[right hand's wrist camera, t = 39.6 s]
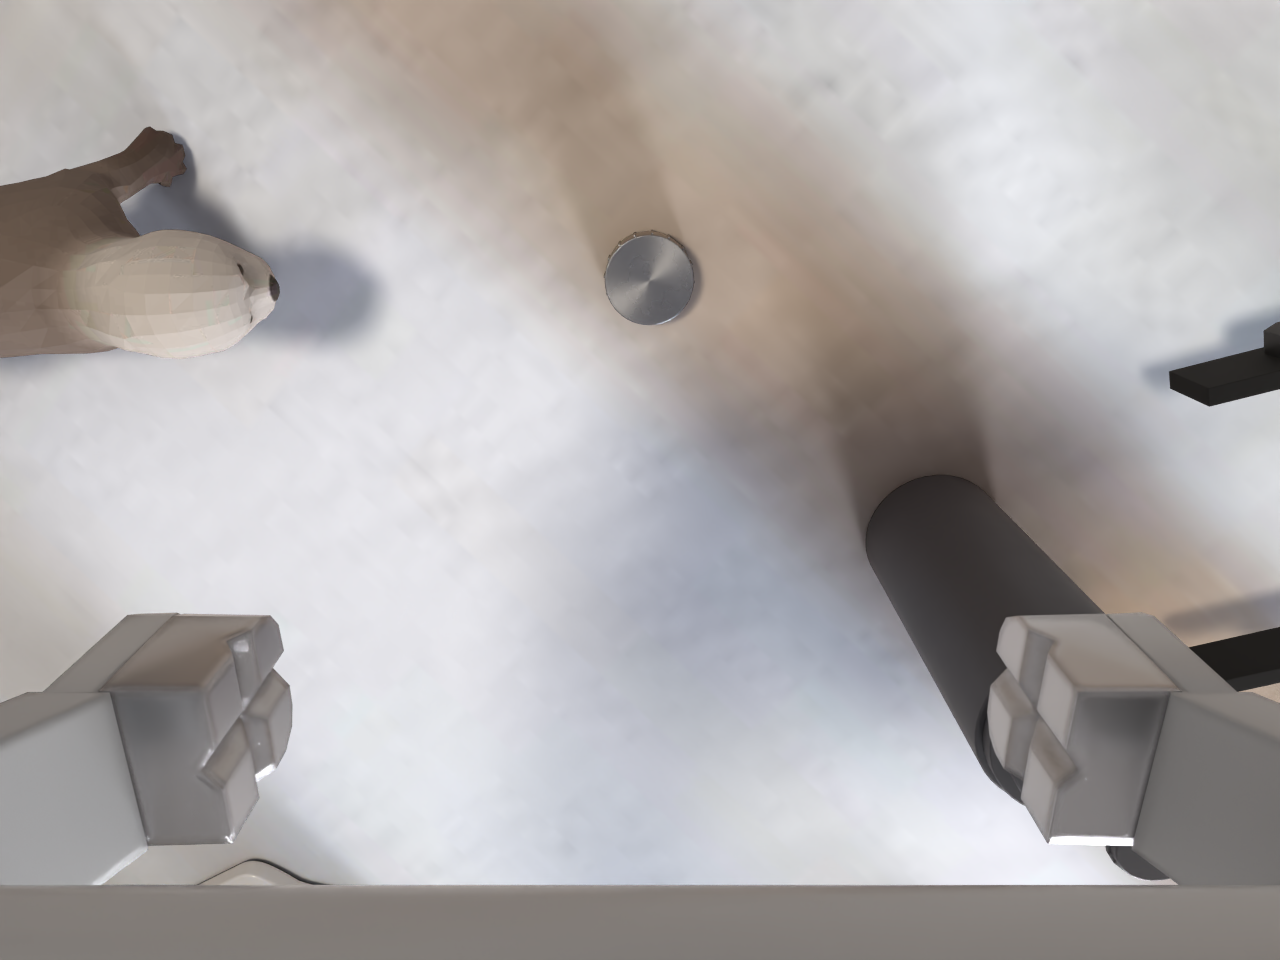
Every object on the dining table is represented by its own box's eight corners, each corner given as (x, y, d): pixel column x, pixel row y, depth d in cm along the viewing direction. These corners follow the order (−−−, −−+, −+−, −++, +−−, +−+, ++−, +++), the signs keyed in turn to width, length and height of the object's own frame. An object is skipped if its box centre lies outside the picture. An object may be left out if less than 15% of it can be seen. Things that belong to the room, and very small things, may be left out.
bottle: (974, 605, 46) (1224, 950, 26) (850, 584, 45) (1009, 917, 26) (1017, 487, 43) (1327, 769, 24) (887, 463, 43) (1093, 730, 23)
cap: (707, 290, 40) (710, 297, 38) (633, 333, 41) (633, 342, 39) (664, 213, 39) (666, 216, 37) (589, 259, 40) (587, 264, 38)
